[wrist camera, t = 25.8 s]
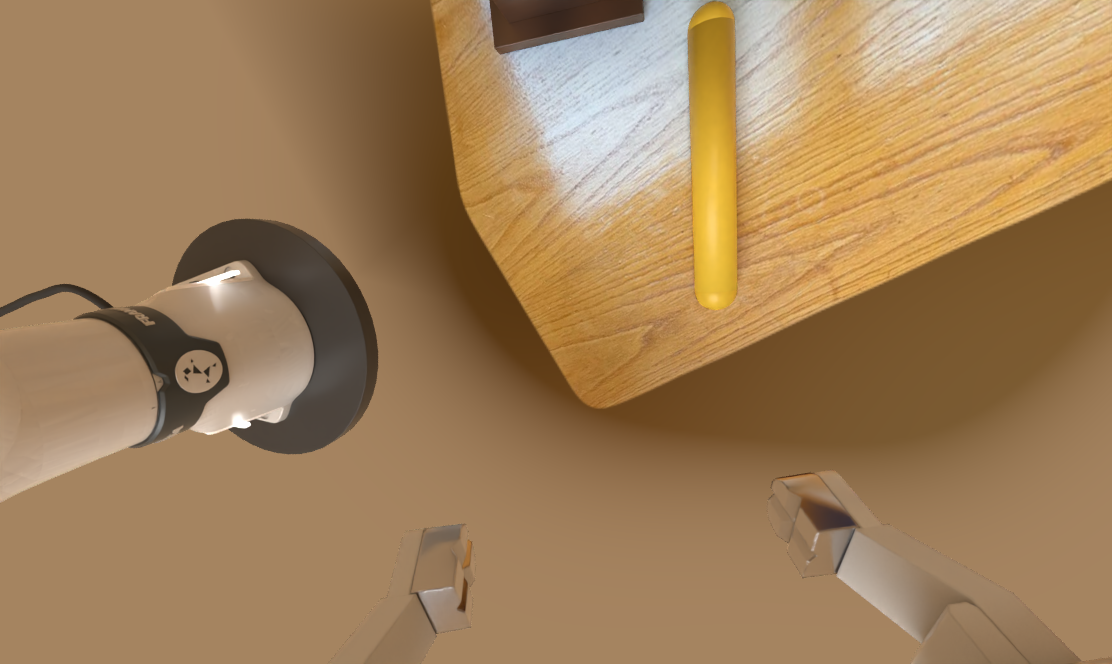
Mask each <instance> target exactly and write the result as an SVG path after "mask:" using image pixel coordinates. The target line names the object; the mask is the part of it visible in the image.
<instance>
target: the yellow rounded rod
mask: <svg viewBox="0 0 1112 664" xmlns="http://www.w3.org/2000/svg"><path fill="white" fill-rule="evenodd" d="M687 36H688V71H689V106H690V140H691V175H692V209H693V244H694V279H695V295H696V298H697V300H698V302H699V303H700V304H701V305H702V306H704V307H705V308H708V309H711V310H720V309H723V308H725V307H727V306H729V305H730V304H731V303H732V302H733V301H734V299H735V298H736V295H737V187H736V78H735V18H734V14H733V12H732V10H731V9H730V7H729V6H728V5H726V4H725V3H723V2H720V1H712V2H709V3H706V4H705V5H703V6H701V7H700V8H699V9H698V10H697V11H696V12H695V14H694V15H693V17H692V18H691V21H690V23H689V27H688V35H687Z"/></svg>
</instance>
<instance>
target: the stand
mask: <svg viewBox="0 0 1112 664" xmlns="http://www.w3.org/2000/svg"><path fill="white" fill-rule="evenodd" d="M490 9H491V18H492V27H493V36H494V45H495V49H496V50H497V51H498V52H499V54H503V53H508V52H512V51H516V50H521V49H525V48H529V47H534V46H538V45H542V44H547V43H551V42H556V41H560V40H564V39H569V38H573V37H577V36H582V35H586V34H590V33H595V32H599V31H604V30H608V29H612V28H617V27H621V26H625V25H630V24H634V23H638V22H643V21H644V11H643V0H490Z"/></svg>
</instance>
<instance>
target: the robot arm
mask: <svg viewBox="0 0 1112 664" xmlns="http://www.w3.org/2000/svg"><path fill="white" fill-rule="evenodd" d="M60 292H72V293H75V294H78V295H80V296H82V297H84V298H86V299H87V300H89V301H91V302H92V303H94V304H95V305H97V306H98V307H99V308H101V310H98V311H94V312H90V313H85V314H82V315H79V316H77V317H76V318H74V319H73V320H68V321H61V322H53V323H46V324H38V325H32V326H24V327H16V328H9V329H2V330H0V502H2V501H4V500H6V499H8V498H10V497H11V496H14V495H15V494H18V493H20V492H22V491H24V490H26V489H29V488H31V487H33V486H35V485H38V484H40V483H42V482H45V481H47V480H49V479H52V478H54V477H56V476H59V475H61V474H63V473H66V472H68V471H70V470H73V469H75V468H78V467H80V466H83V465H85V464H87V463H90V462H92V461H95V460H97V459H100V458H102V457H105V456H107V455H110V454H112V453H115V452H117V451H119V450H122V449H124V448H127V447H128V448H139V447H143V446H146V445H149V444H152V443H157V442H161V441H163V440H166V439H168V438H171V437H173V436H174V435H176V434H178V433H181V432H183V431H186V430H188V429H191V430H193V431H195V432H201V433H205V434H207V435H210V434H215V433H218V432H221V431H224V430H226V429H229V428H232V427H235V426H236V427H241V428H246V427H248V426H250V423H249V422H248V421H251V420H253V419H258V420H262V421H266V422H271V423H277V422H280V421H283V420H285V419H286V418H287V416H288V413H289V411H290V408H291V404H292V402H293V401H294V400H295V398H296V397H298V396H299V395H300V394H301V393H302V392H303V390H304V389H305V388H306V386H307V385H308V383H309V381H310V378H311V375H312V372H313V367H314V347H313V341H312V337H311V334H310V331H309V328H308V326H307V323H306V321H305V319H304V317H303V316H302V314H301V312H300V311H299V309H298V308H297V307H296V305H295V304H294V303H293V302H292V301H291V300H290V299H289V298H288V297H287V296H286V295H285V294H284V293H283V292H281V291H280V290H279V289H277V288H275V287H274V286H272V285H271V284H269V283H268V282H267V281H265V280H264V279H263V277H262V276H261V275H260V273H259V272H258V271H257V269H256V268H255V267H254V266H253V265H252V264H251V263H250V262H249V261H247V260H240V261H234V262H232V263H229V264H227V265H224V266H221V267H219V268H216V269H214V270H211V271H209V272H206V273H204V274H201V275H199V276H196V277H194V278H191V279H189V280H186V281H184V282H181V283H178V284H176V285H173V286H170V287H167V288H166V289H163V290H161V291H159V292H157V293H155V295H154V296H152V297H150V298H148V299H146V300H144V301H142V302H140V303H139V304H136V305H135V306H131V307H113V306H111V305H110V304H109V303H108V302H106V301H105V300H103V299H102V298H100V297H99V296H97V295H96V294H94V293H92V292H90V291H88V290H86V289H84V288H81V287H78V286H75V285H71V284H60V285H54V286H51V287H48V288H46V289H43V290H41V291H38V292H35V293H31V294H28V295H26V296H24V297H22V298H19V299H17V300H16V301H14V302H12V303H10V304H7V305H5V306H3V307H1V308H0V317H1V316H3V315H5V314H7V313H10V312H12V311H14V310H16V309H18V308H21V307H23V306H24V305H27V304H29V303H31V302H33V301H36V300H39V299H42V298H46V297H49V296H51V295H54V294H56V293H60ZM771 489H772V491H773V492H774V494H773V495H772V496H771V497H770V498H769V499H768V502H767V512H768V518H769V521H770V523H771V526H772V528H773V530H774V531H775V533H776V535H777V536H778V537H779V538H781V539H783V540H784V541H785V542H787V543H788V549H787V553H788V555H789V557H790V558H791V560H792V561H793V563H794V565H795V566H796V568H797V570H798V571H799V573H800V575H801V576H802V578H806V577H815V576H823V575H832V574H837V575H836V576H837V577H838V578H840V579H841V580H842V581H843V582H845V583H846V584H847V585H848V586H850V587H851V588H852V589H853V590H855V591H856V592H857V593H859V594H860V595H861V596H862V597H863V598H865V599H866V600H867V601H868V602H870V603H871V604H872V605H874V606H875V607H876V608H877V609H879V610H880V611H881V612H882V613H884V614H885V615H886V616H887V617H889V618H890V619H891V620H892V621H894V622H895V623H896V624H897V625H899V626H900V627H901V628H902V629H904V630H905V631H906V632H908V633H909V634H910V635H911V636H913V637H914V638H915V639H917V640H918V641H919V642H920V643H921V645H920V646H919V648H918V649H917V651H916V652H915V654H914V655H913V657H912V658H911V663H910V664H1112V657H1108V658H1101V659H1094V660H1089V661H1081V660H1080V659H1079V658H1078V657H1077V656H1076V655H1075V654H1074V653H1073V652H1072V651H1071V650H1070V649H1069V648H1068V647H1067V646H1066V645H1065V644H1064V643H1063V642H1062V641H1061V640H1060V639H1059V638H1058V637H1057V636H1056V635H1055V634H1054V633H1053V632H1052V631H1051V630H1050V629H1049V628H1048V627H1047V626H1046V625H1045V624H1044V623H1043V622H1042V621H1041V620H1040V619H1039V618H1038V617H1037V616H1036V615H1035V614H1034V613H1033V612H1032V611H1031V610H1030V609H1029V608H1028V607H1027V606H1026V605H1025V604H1024V603H1023V602H1022V601H1021V600H1020V599H1019V598H1018V597H1017V596H1016V595H1015V594H1014V593H1012V592H1011V591H1009V590H1007V589H1005V588H1004V587H1002V586H1000V585H998V584H996V583H994V582H993V581H991V580H989V579H987V578H985V577H984V576H982V575H980V574H978V573H976V572H975V571H973V570H971V569H969V568H967V567H966V566H964V565H962V564H960V563H958V562H956V561H955V560H953V559H951V558H949V557H947V556H946V555H944V554H942V553H940V552H938V551H937V550H935V549H933V548H931V547H929V546H928V545H926V544H924V543H922V542H920V541H918V540H917V539H915V538H913V537H911V536H909V535H908V534H906V533H904V532H902V531H900V530H899V529H897V528H895V527H893V526H891V525H890V524H882V523H881V522H880V521H879V520H878V519H877V518H876V516H875V515H874V514H873V513H872V512H871V511H870V509H869V508H868V507H867V506H866V505H865V504H864V503H863V501H862V500H861V499H860V498H859V497H858V496H857V495H856V493H855V492H854V491H853V490H852V489H851V488H850V486H849V485H848V484H847V483H846V482H845V481H844V480H843V478H842V477H841V476H840V475H839V474H838V473H837V472H835V471H833V470H828V471H822V472H816V473H805V474H799V475H793V476H786V477H780V478H775V479H774V480H773V481H772V484H771ZM475 570H476V567H475V552H474V547H473V544H472V542H471V541H469V540H468V529H467V526H466V524H457V525H448V526H441V527H432V528H423V529H416V530H409V531H406V532H405V534H404V535H403V537H402V540H401V544H400V548H399V552H398V555H397V560H396V563H395V568H394V571H393V575H392V579H391V583H390V587H389V591H388V595H387V598H382V599H380V600H379V601H378V603H377V604H376V605H375V606H374V608H373V609H372V610H371V611H370V612H369V614H368V615H367V616H366V617H365V619H364V620H363V621H362V622H361V624H360V625H359V626H358V627H357V628H356V630H355V631H354V632H353V633H352V635H351V636H350V637H349V638H348V639H347V641H346V642H345V643H344V644H343V646H342V647H341V648H340V649H339V651H338V652H337V653H336V654H335V656H334V657H333V658H332V659H331V660H330V662H329V663H328V664H421V663H422V661H423V659H424V658H425V656H426V654H427V652H428V651H429V649H430V647H431V645H432V644H433V642H434V640H435V638H436V634H438V633H444V632H449V631H455V630H460V629H466V628H471V620H472V608H473V597H472V594H471V591H470V587H471V585H472V584H473V582H474V581H475Z"/></svg>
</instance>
